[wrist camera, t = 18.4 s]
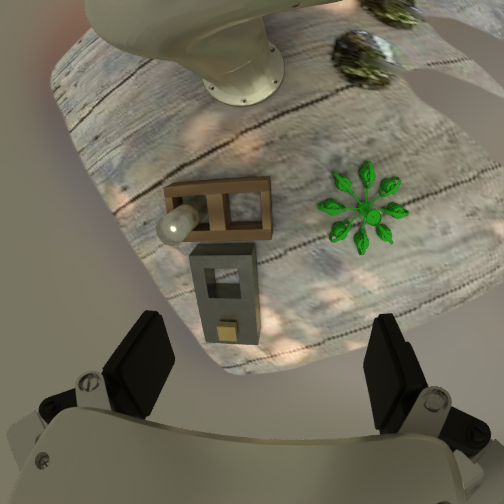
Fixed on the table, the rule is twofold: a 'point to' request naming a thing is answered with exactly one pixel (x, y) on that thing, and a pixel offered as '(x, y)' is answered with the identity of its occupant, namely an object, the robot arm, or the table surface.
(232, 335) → the release key
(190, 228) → the grey tall cylinder
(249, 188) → the frame
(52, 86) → the table surface
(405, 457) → the robot arm
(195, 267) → the socket block
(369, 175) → the chandelier
